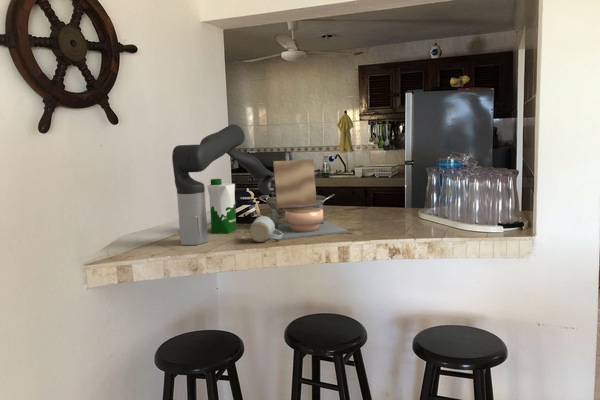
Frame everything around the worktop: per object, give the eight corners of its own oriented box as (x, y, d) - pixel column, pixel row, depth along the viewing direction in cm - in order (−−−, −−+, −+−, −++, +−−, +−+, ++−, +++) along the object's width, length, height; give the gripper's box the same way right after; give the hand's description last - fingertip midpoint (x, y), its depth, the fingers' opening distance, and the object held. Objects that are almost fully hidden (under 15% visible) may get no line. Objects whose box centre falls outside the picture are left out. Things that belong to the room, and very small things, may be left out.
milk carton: (219, 228, 180) (216, 178, 177) (240, 229, 177) (237, 178, 174) (207, 233, 171) (204, 180, 169) (229, 234, 168) (226, 180, 166)
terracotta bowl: (321, 232, 162) (321, 213, 161) (282, 233, 164) (282, 213, 163) (325, 225, 176) (324, 207, 175) (289, 225, 177) (288, 207, 177)
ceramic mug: (249, 243, 152) (246, 221, 151) (254, 238, 160) (252, 216, 159) (280, 241, 150) (278, 218, 149) (284, 236, 159) (282, 214, 158)
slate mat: (260, 227, 180) (260, 225, 180) (321, 220, 188) (321, 219, 188) (279, 240, 156) (279, 238, 156) (348, 232, 164) (348, 230, 164)
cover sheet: (277, 209, 173) (277, 209, 174) (317, 206, 178) (316, 206, 179) (273, 161, 173) (273, 161, 174) (313, 159, 178) (312, 159, 179)
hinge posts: (272, 229, 174) (271, 208, 173) (321, 224, 181) (320, 204, 180) (273, 230, 173) (272, 209, 172) (323, 225, 179) (322, 205, 178)
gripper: (263, 178, 195) (274, 181, 179) (292, 176, 200) (306, 179, 183) (264, 196, 196) (275, 200, 180) (293, 193, 201) (306, 197, 184)
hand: (290, 189), depth 182 cm, fingers closed
